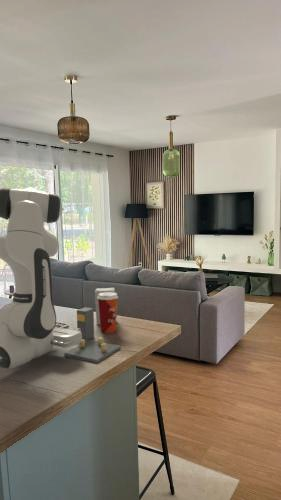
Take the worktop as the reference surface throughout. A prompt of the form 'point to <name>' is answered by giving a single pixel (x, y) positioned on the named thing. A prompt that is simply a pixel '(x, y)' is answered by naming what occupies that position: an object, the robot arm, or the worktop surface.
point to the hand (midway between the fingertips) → (68, 328)
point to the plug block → (86, 322)
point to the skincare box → (97, 292)
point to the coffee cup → (108, 311)
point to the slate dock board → (92, 350)
